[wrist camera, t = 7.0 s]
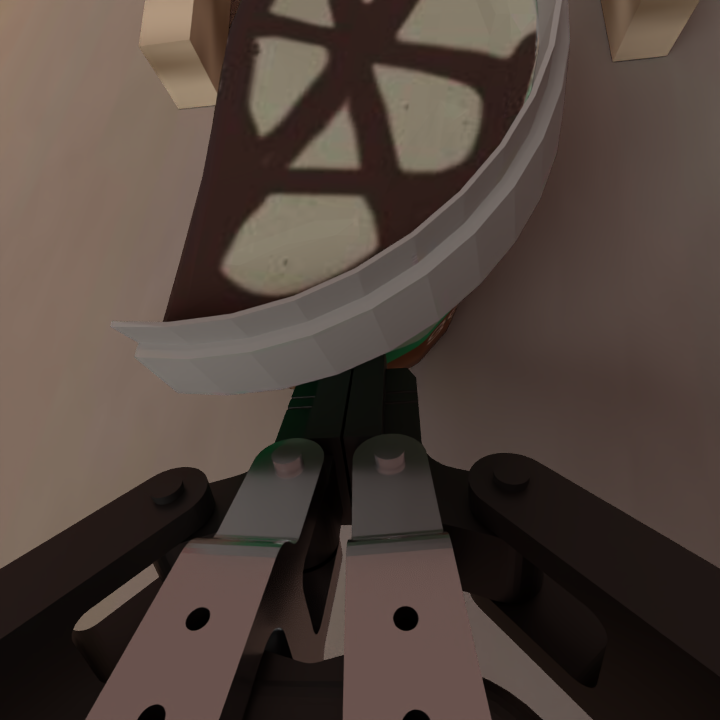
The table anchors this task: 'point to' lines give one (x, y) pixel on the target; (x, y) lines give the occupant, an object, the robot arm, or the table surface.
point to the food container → (357, 184)
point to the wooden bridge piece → (211, 27)
